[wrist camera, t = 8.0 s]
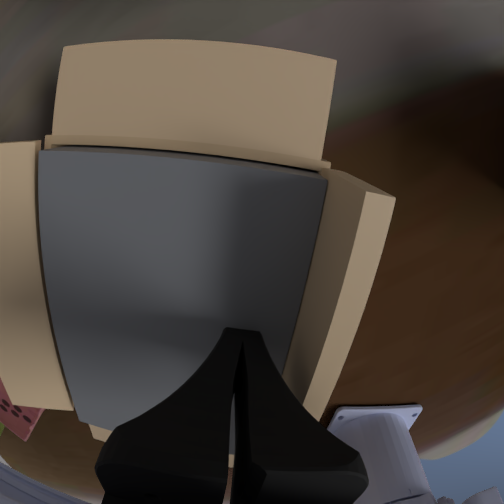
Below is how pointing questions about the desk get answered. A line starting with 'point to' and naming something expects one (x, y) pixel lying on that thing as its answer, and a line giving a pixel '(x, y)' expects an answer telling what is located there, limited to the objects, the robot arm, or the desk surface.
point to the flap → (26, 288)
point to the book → (17, 415)
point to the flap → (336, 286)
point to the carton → (176, 210)
